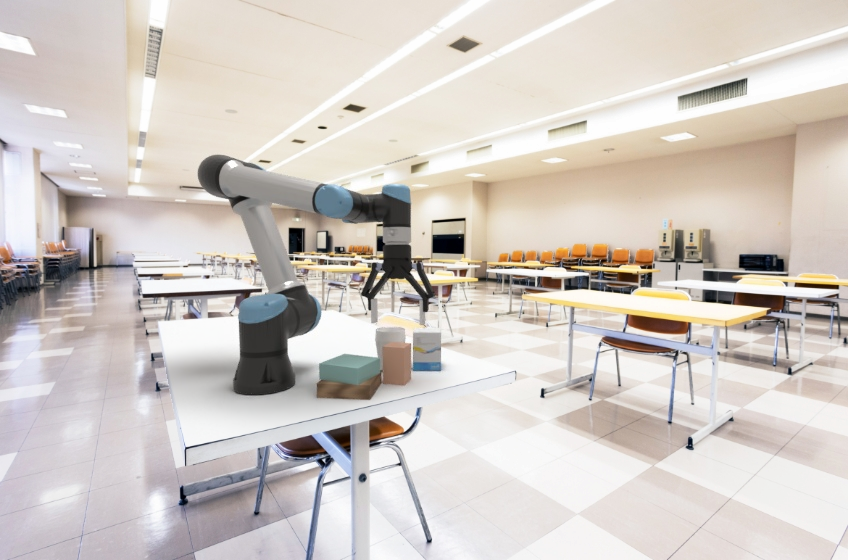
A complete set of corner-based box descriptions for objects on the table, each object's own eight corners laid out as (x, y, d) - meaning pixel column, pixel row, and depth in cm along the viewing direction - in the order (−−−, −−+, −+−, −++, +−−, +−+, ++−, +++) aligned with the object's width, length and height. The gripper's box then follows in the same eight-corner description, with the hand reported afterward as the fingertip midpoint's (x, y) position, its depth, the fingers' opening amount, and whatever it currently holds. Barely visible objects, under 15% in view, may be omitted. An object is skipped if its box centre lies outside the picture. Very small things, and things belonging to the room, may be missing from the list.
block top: (319, 379, 101) (319, 363, 101) (344, 368, 111) (344, 353, 111) (357, 385, 97) (357, 368, 96) (380, 373, 107) (380, 357, 107)
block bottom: (316, 399, 98) (316, 383, 98) (334, 383, 111) (334, 368, 111) (370, 402, 97) (370, 385, 97) (381, 384, 110) (381, 370, 109)
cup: (401, 373, 118) (401, 332, 117) (371, 372, 120) (371, 331, 119) (408, 365, 127) (408, 327, 126) (380, 364, 129) (380, 326, 128)
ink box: (441, 371, 121) (441, 332, 120) (412, 371, 121) (412, 331, 120) (440, 363, 130) (440, 327, 129) (413, 363, 130) (413, 326, 129)
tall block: (382, 383, 109) (382, 346, 108) (390, 377, 115) (390, 342, 114) (404, 385, 107) (404, 348, 107) (411, 379, 113) (411, 343, 113)
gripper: (347, 244, 109) (349, 324, 110) (439, 242, 102) (440, 327, 103) (359, 245, 116) (361, 319, 117) (446, 243, 109) (446, 322, 110)
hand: (398, 323), depth 110 cm, fingers open, 13 cm apart
